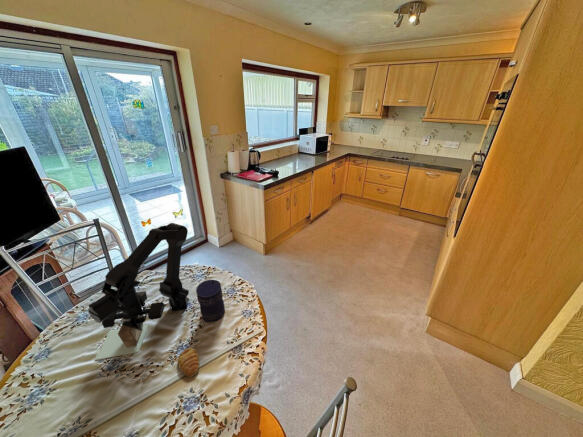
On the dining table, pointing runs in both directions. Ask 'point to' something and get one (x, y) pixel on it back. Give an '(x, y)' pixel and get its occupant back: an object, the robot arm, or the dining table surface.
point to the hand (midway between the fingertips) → (141, 329)
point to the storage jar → (210, 300)
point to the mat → (118, 345)
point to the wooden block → (129, 336)
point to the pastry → (189, 362)
